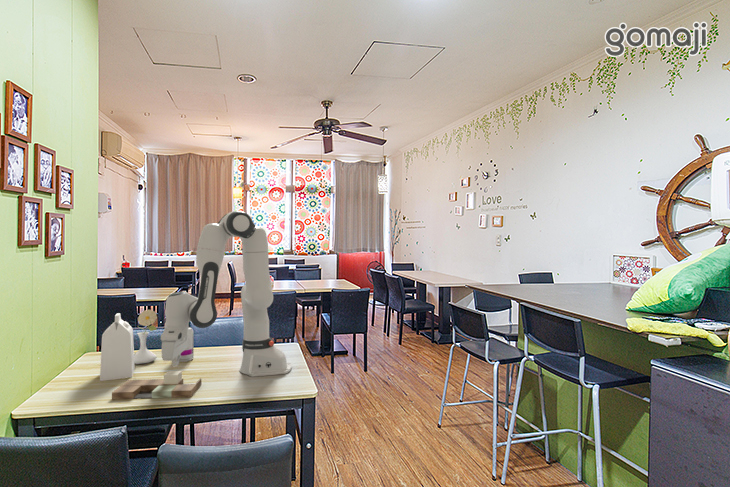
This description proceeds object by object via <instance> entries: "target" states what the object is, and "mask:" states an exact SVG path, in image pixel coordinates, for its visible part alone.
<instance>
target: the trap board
mask: <svg viewBox="0 0 730 487" xmlns="http://www.w3.org/2000/svg"><path fill="white" fill-rule="evenodd" d="M201 386H202V378H201V377H200V378H199V379H198V380H197V381H196V382H195V383H184V378H182V380H181V381H180V382H179V383H178V384H164V378H157V379H156V378H155V379H154V378H153V379H151V378H150V379H149V378H148V379H128V380H126V381H125V382H124V383H122V384H121V385H120V386H119V387H117V388H116V389H114V391H112V392H111V400H131V399H137V398H141V399H169V398H192V397H193V395H194V394H195V393H196V392H197V391H198V389H199V388H201Z"/></svg>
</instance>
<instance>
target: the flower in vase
mask: <svg viewBox="0 0 730 487" xmlns="http://www.w3.org/2000/svg"><path fill="white" fill-rule="evenodd" d="M157 318H158V315H157V312H156V311H155V310H152V309H146V310H144V311H141V312H140V314H139V316H138V317H137V321H138V324H139V325H141V326H144V327H147V328H146V329H145V328H142V327H139V326H138V329H141V330H143V332H142V331H141V332H137V333H136V334H137V336H138V338H139V342H140V347H139V349H138V350H137V351H136V352H134V365H142V364H148V363H151V362H153V361H155V360H156V359H157V357H158V356H157V355H156V354H155V353H154V352H152V351H151V350H150V349H148V348H147V344H146V343H147V337H148V335H149V334H150V332H153V331H157V330H158V328H156V326H155V325H153V324H154V323H155V321H156V320H157ZM147 330H149V331H150V332H149V331H147Z"/></svg>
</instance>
